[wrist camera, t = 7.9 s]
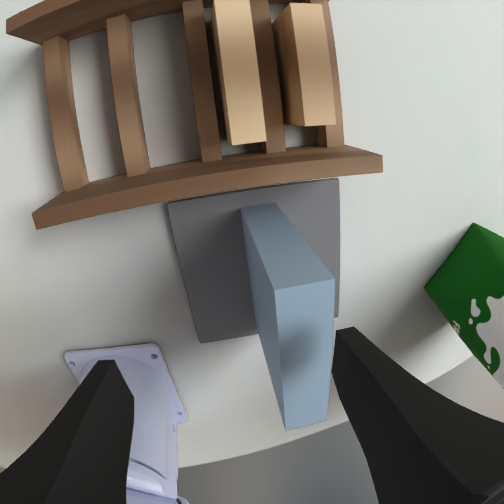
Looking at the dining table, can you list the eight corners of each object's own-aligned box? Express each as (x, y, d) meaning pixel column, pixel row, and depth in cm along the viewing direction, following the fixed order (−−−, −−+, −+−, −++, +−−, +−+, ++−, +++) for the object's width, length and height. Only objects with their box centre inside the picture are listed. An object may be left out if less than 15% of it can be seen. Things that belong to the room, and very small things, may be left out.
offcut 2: (308, 121, 17) (336, 124, 13) (283, 123, 17) (305, 126, 13) (297, 24, 14) (321, 4, 11) (271, 24, 14) (289, 2, 11)
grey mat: (336, 313, 23) (338, 316, 22) (200, 339, 22) (200, 343, 21) (336, 177, 18) (338, 179, 18) (167, 202, 18) (166, 204, 17)
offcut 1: (252, 135, 17) (266, 141, 13) (225, 139, 17) (232, 145, 13) (238, 18, 14) (248, -6, 10) (210, 21, 14) (213, -3, 10)
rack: (339, 156, 18) (382, 172, 13) (73, 200, 17) (36, 229, 12) (321, -7, 14) (358, -37, 9) (48, 36, 12) (6, 19, 8)
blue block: (284, 316, 22) (326, 420, 13) (255, 321, 21) (285, 430, 13) (275, 202, 18) (334, 278, 10) (240, 207, 18) (274, 290, 10)
